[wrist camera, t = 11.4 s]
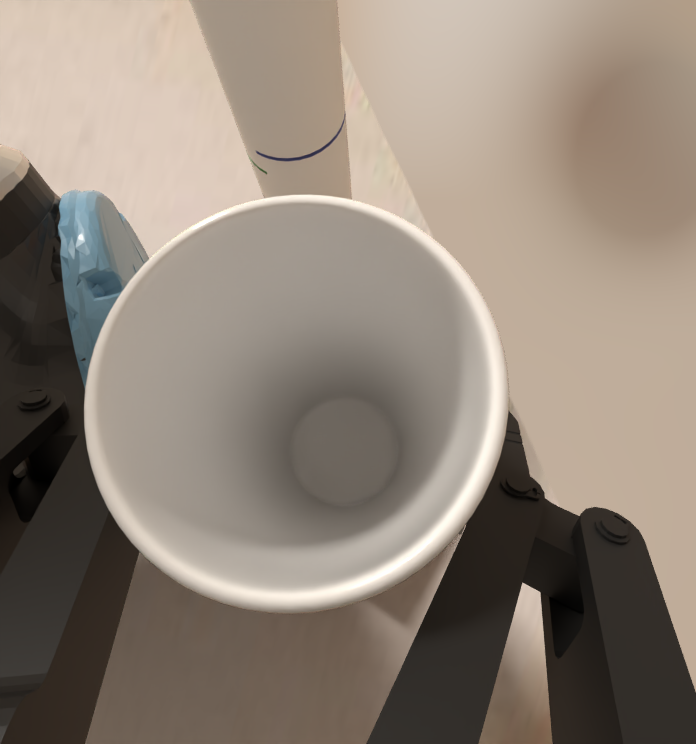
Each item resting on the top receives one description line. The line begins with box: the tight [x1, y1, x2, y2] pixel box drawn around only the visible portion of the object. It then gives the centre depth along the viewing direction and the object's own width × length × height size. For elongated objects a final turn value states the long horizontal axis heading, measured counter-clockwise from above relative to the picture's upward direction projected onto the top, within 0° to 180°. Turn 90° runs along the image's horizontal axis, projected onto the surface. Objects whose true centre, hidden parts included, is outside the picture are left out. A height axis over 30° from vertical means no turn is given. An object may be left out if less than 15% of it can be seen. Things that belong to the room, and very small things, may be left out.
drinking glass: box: [84, 194, 509, 614], centre depth 14 cm, size 7×7×15 cm
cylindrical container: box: [190, 0, 352, 200], centre depth 29 cm, size 7×7×25 cm
